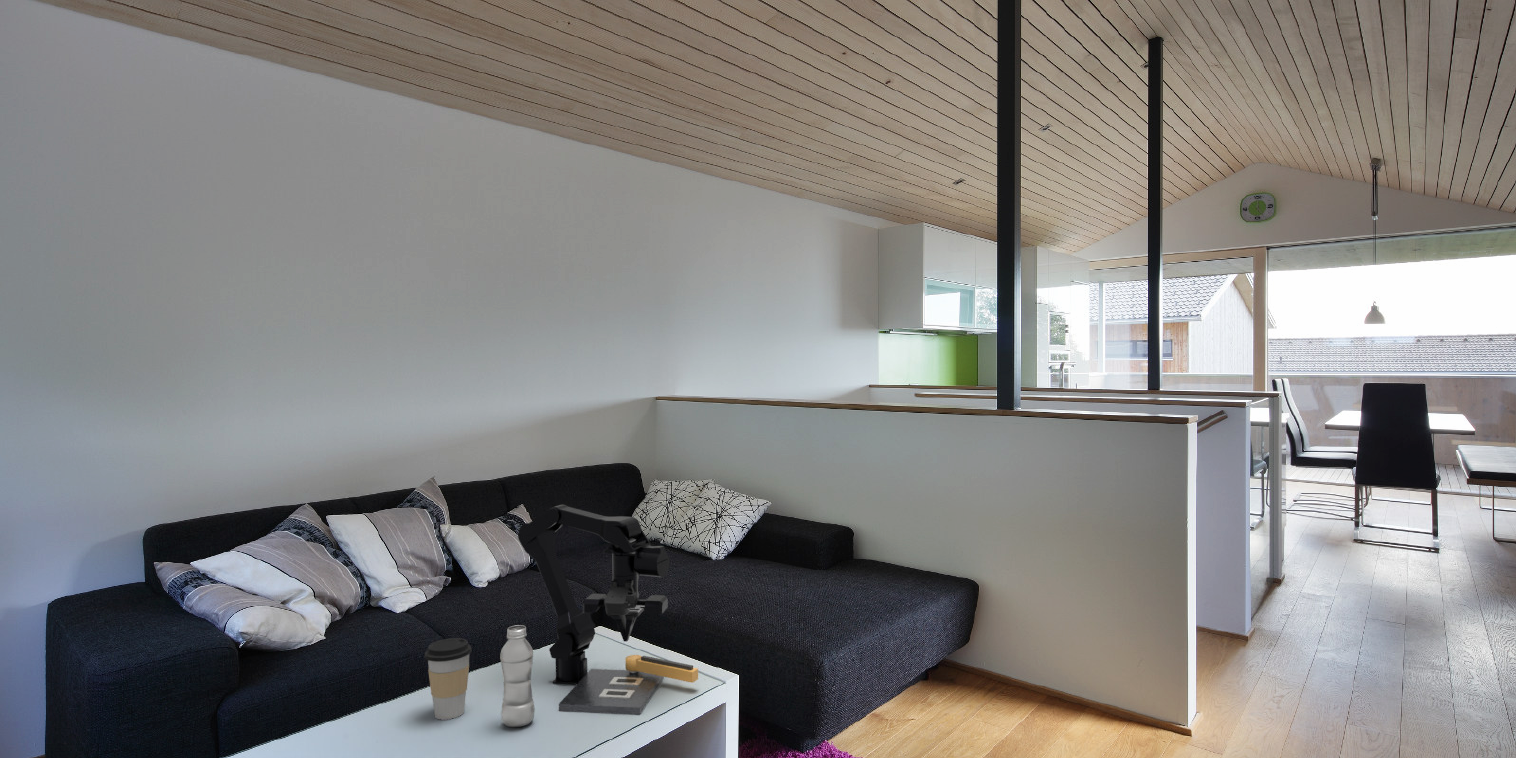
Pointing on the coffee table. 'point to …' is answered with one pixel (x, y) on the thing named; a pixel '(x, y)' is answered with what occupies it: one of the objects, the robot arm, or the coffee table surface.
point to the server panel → (611, 692)
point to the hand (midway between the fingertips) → (626, 640)
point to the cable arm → (661, 668)
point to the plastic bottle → (517, 678)
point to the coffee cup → (448, 676)
